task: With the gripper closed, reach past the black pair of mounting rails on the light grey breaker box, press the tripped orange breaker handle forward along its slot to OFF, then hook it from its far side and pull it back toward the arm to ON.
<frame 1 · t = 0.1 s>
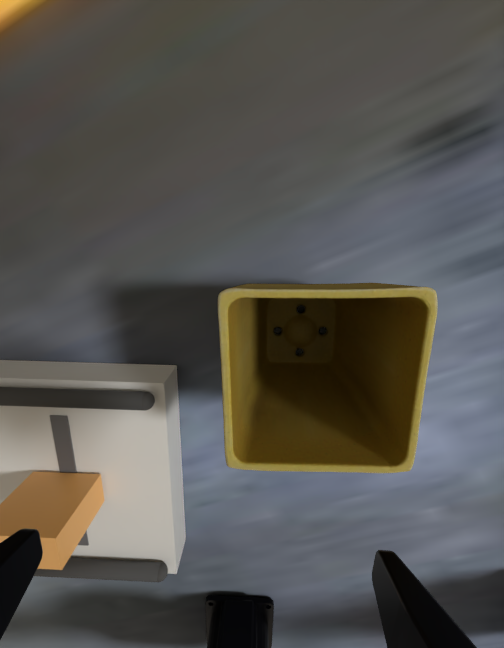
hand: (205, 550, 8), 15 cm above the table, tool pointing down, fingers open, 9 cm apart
flower pot: (297, 329, 21), on the table
pair of mounting rails: (65, 490, 21), on the breaker box, point 3 cm above the table
breaker box: (93, 456, 25), on the table
breaker handle: (46, 515, 19), point 6 cm above the table, slide at 0.0 cm
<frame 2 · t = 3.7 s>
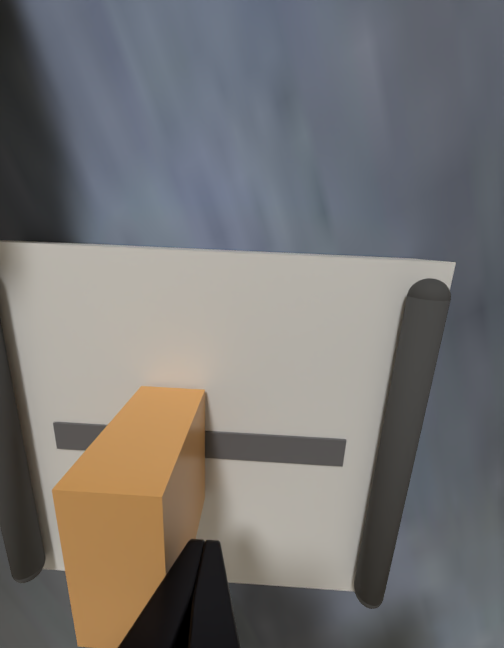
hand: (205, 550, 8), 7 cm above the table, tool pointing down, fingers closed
pair of mounting rails: (195, 453, 11), on the breaker box, point 3 cm above the table
breaker box: (211, 403, 15), on the table
breaker handle: (152, 495, 9), point 6 cm above the table, slide at 0.9 cm, touching gripper
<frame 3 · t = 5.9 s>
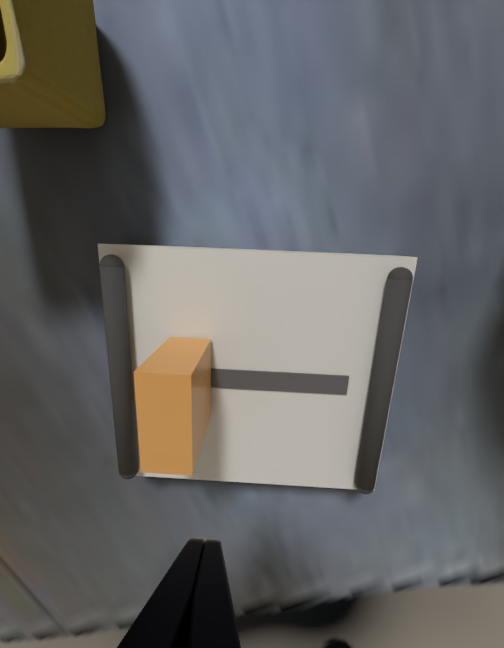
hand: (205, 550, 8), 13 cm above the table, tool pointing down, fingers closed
flower pot: (61, 77, 17), on the table
pair of mounting rails: (249, 384, 17), on the breaker box, point 3 cm above the table
breaker box: (251, 360, 20), on the table
breaker handle: (179, 398, 15), point 6 cm above the table, slide at 3.5 cm
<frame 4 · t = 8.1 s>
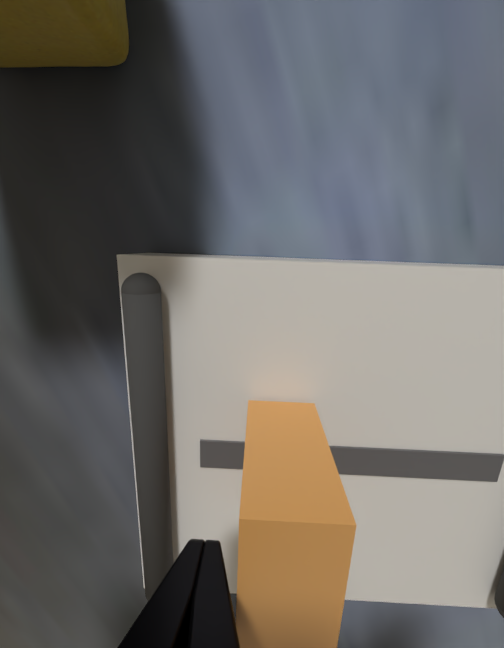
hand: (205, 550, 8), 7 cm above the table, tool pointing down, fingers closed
pair of mounting rails: (353, 471, 11), on the breaker box, point 3 cm above the table
breaker box: (330, 416, 14), on the table
breaker handle: (281, 515, 9), point 6 cm above the table, slide at 2.8 cm, touching gripper
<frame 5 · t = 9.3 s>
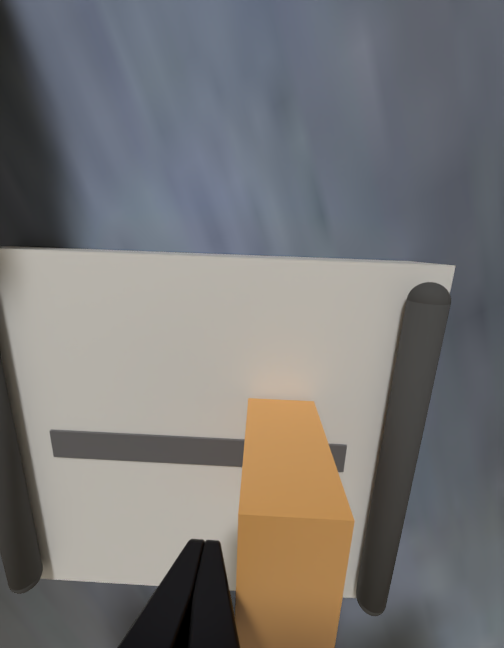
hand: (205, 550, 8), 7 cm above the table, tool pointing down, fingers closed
pair of mounting rails: (193, 460, 11), on the breaker box, point 3 cm above the table
breaker box: (210, 409, 14), on the table
breaker handle: (281, 512, 9), point 6 cm above the table, slide at -3.2 cm, touching gripper
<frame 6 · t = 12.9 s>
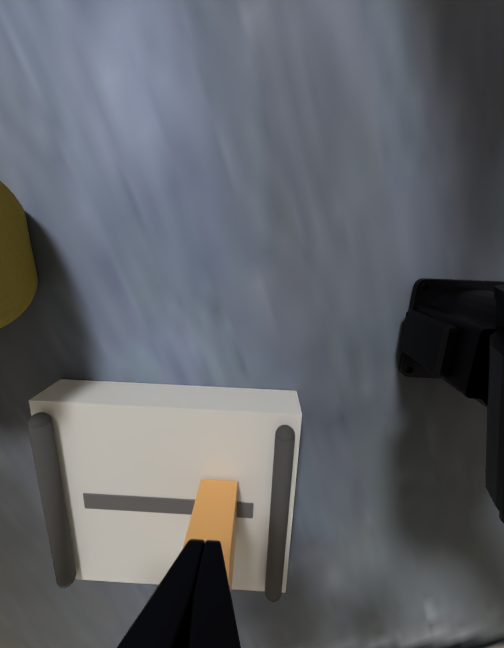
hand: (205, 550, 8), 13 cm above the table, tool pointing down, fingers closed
pair of mounting rails: (165, 512, 19), on the breaker box, point 3 cm above the table
breaker box: (180, 472, 23), on the table
breaker handle: (213, 545, 17), point 6 cm above the table, slide at -3.5 cm
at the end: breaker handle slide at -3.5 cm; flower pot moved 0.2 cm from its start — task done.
